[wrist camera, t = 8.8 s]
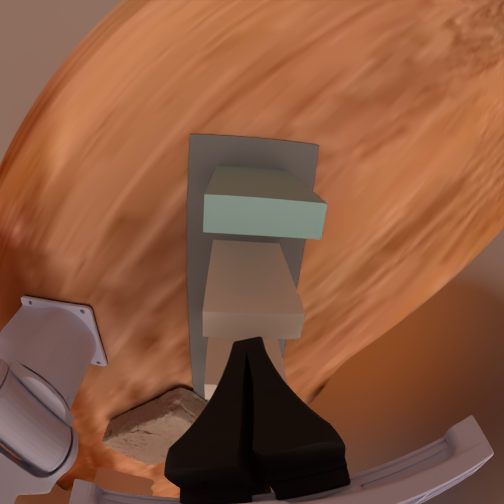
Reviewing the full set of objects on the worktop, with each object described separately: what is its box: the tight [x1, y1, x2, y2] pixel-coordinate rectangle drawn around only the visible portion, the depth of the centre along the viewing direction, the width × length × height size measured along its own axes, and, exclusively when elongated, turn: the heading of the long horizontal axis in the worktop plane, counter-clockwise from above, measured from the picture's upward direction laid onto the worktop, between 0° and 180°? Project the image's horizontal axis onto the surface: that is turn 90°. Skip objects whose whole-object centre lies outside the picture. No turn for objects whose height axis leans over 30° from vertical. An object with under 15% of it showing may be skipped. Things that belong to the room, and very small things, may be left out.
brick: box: [103, 388, 208, 465], centre depth 29 cm, size 17×8×5 cm, turn 129°
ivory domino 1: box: [203, 240, 306, 339], centre depth 18 cm, size 5×2×9 cm, turn 85°
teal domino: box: [203, 165, 327, 240], centre depth 16 cm, size 5×2×9 cm, turn 85°
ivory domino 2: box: [204, 337, 287, 400], centre depth 20 cm, size 5×2×9 cm, turn 85°
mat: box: [187, 134, 319, 402], centre depth 24 cm, size 9×28×1 cm, turn 175°
